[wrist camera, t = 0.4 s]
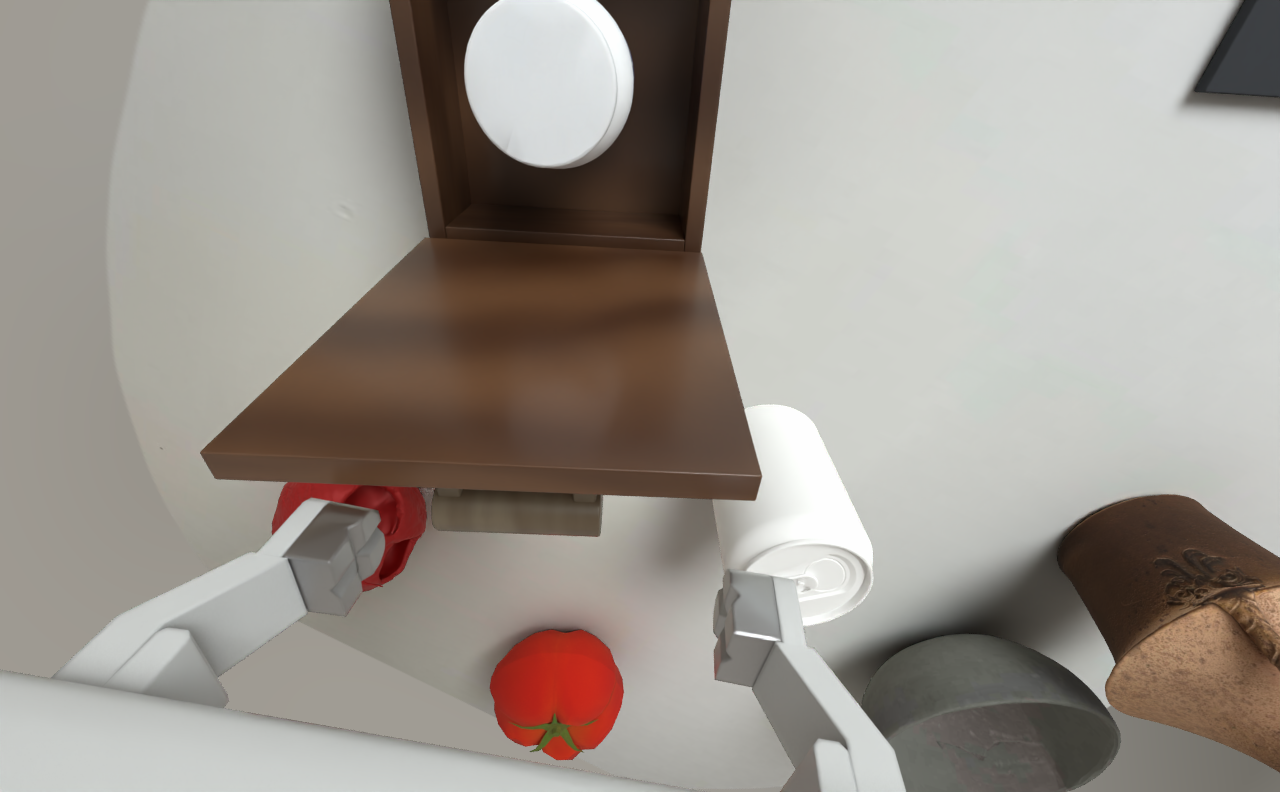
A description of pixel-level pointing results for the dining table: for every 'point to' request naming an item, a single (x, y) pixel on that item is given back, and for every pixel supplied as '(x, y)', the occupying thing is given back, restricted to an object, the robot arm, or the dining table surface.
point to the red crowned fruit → (395, 506)
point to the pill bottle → (549, 80)
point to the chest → (584, 195)
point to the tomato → (557, 692)
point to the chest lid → (512, 389)
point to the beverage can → (797, 519)
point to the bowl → (988, 718)
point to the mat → (1248, 54)
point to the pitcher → (1184, 619)
